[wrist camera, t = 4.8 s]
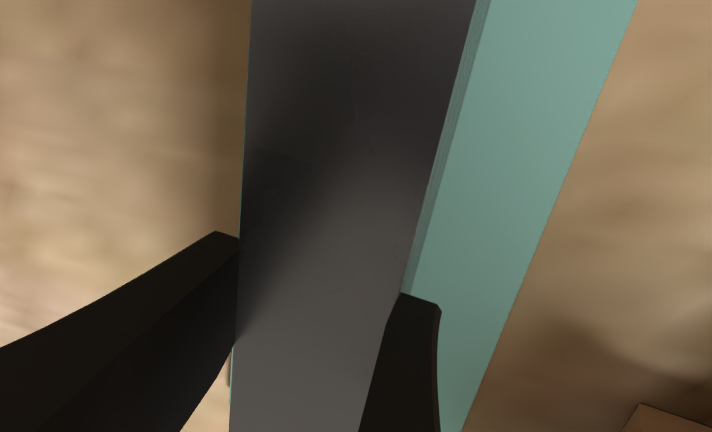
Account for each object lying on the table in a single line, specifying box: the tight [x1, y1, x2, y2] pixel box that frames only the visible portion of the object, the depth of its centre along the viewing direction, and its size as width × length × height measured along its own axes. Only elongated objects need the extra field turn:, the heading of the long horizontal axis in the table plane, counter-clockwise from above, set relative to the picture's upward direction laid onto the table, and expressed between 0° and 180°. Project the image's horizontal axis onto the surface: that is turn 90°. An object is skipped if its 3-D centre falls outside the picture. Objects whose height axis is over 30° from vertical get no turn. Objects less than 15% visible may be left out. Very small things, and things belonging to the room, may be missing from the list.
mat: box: [229, 0, 638, 432], centre depth 15 cm, size 20×7×1 cm, turn 171°
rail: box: [229, 0, 491, 432], centre depth 12 cm, size 16×3×3 cm, turn 171°
